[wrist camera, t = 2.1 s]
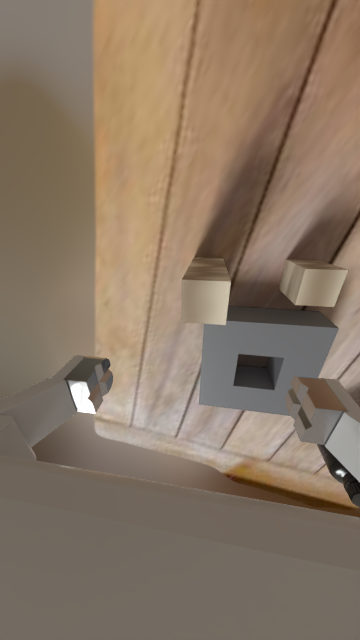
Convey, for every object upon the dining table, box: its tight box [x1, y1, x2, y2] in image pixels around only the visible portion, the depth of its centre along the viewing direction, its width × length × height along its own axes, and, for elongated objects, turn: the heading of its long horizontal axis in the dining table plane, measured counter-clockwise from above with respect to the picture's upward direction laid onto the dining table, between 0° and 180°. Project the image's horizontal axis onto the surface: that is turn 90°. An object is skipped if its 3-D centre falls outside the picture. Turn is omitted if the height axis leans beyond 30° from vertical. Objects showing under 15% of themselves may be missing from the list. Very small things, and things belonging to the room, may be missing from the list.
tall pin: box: [182, 257, 231, 325], centre depth 22 cm, size 4×4×12 cm
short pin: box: [279, 259, 348, 307], centre depth 23 cm, size 4×4×6 cm
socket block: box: [199, 306, 339, 416], centre depth 30 cm, size 16×16×5 cm
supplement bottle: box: [317, 444, 360, 507], centre depth 31 cm, size 7×7×12 cm
